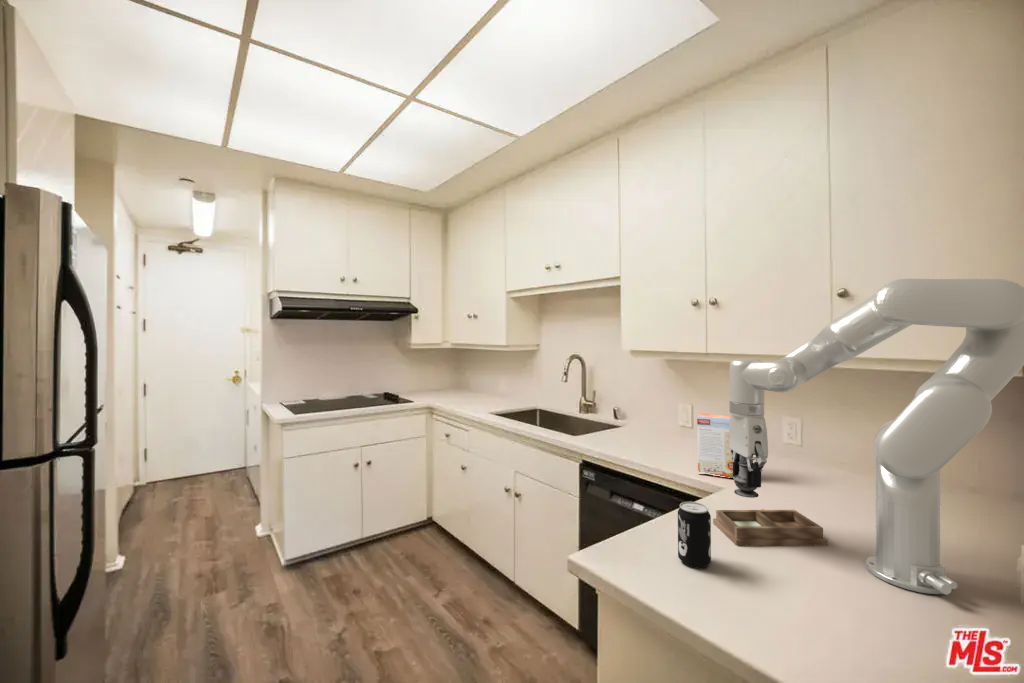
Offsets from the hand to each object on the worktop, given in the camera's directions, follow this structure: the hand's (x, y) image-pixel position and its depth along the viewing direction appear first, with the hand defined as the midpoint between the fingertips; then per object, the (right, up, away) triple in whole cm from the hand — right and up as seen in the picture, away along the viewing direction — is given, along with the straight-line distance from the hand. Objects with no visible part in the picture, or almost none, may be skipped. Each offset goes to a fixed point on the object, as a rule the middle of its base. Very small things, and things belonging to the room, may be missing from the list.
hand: (746, 481), depth 105 cm
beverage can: (-18, -13, -13) cm, 26 cm away
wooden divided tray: (+5, -13, 0) cm, 14 cm away
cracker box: (+15, -12, +44) cm, 48 cm away
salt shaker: (0, -3, 0) cm, 3 cm away
